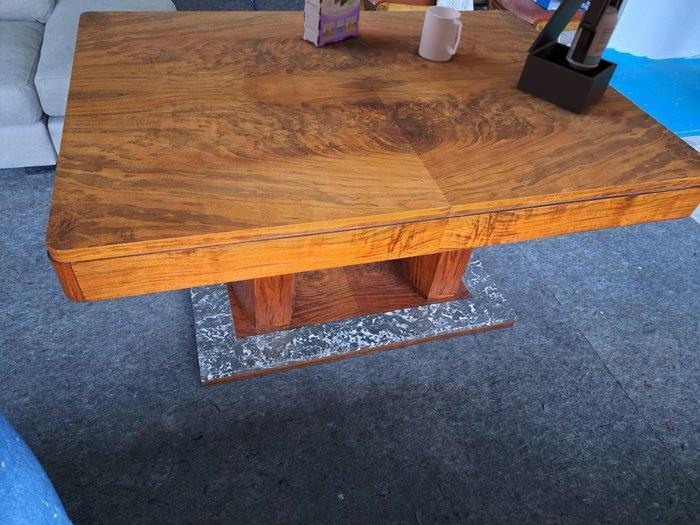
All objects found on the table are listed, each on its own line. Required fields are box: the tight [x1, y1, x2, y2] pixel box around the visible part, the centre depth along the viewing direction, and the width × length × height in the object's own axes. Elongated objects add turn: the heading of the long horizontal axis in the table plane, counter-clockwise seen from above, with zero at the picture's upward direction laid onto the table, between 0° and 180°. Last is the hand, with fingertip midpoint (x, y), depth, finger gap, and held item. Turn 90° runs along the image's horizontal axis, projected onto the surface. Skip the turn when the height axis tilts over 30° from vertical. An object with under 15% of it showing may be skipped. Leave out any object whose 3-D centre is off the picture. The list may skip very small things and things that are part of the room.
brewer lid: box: [527, 0, 586, 54], centre depth 110 cm, size 16×14×9 cm
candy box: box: [302, 0, 362, 48], centre depth 123 cm, size 14×6×16 cm, turn 134°
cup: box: [418, 5, 464, 62], centre depth 123 cm, size 8×12×10 cm
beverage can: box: [566, 5, 619, 70], centre depth 108 cm, size 7×7×12 cm
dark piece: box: [516, 40, 619, 115], centre depth 116 cm, size 16×14×8 cm
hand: (584, 56), depth 111 cm, fingers closed on beverage can, 7 cm apart
